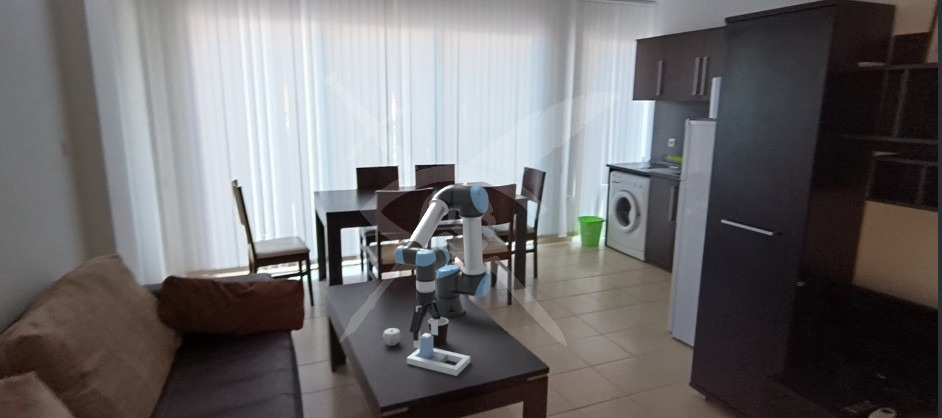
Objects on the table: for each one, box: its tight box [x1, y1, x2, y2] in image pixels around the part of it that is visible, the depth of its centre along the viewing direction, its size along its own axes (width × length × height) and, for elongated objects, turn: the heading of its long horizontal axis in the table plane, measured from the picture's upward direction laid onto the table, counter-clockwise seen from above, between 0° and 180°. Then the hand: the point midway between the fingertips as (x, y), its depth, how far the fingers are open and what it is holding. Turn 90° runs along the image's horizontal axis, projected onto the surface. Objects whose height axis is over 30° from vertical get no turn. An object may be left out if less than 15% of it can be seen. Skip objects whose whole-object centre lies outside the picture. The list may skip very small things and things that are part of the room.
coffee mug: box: [427, 317, 449, 347], centre depth 224 cm, size 12×9×10 cm
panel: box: [406, 347, 471, 377], centre depth 206 cm, size 12×22×2 cm, turn 65°
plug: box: [420, 332, 434, 360], centre depth 207 cm, size 4×4×11 cm
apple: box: [382, 327, 402, 347], centre depth 221 cm, size 8×8×7 cm
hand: (426, 340), depth 206 cm, fingers open, 13 cm apart
